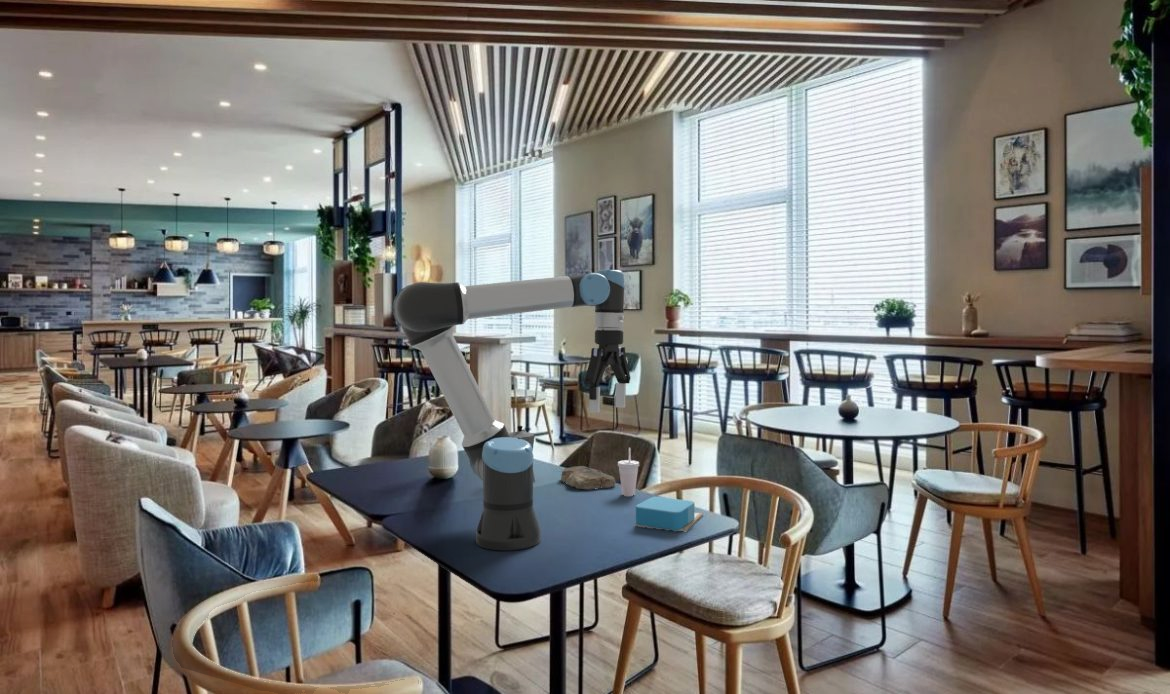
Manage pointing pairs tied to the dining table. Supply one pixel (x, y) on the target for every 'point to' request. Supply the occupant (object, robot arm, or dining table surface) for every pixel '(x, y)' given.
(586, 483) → the flat brown rock
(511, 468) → the robot arm
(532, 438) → the coffeepot
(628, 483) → the smoothie
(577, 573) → the dining table surface
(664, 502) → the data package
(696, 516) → the mat
